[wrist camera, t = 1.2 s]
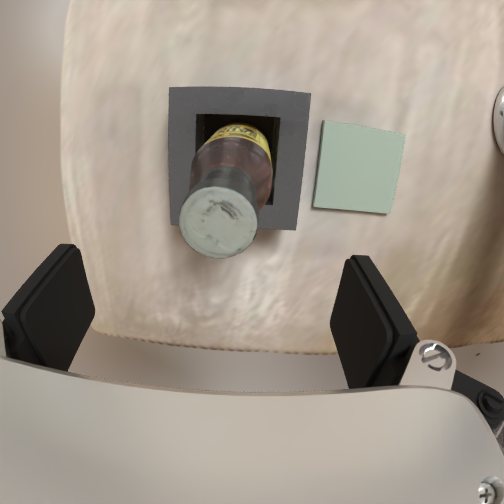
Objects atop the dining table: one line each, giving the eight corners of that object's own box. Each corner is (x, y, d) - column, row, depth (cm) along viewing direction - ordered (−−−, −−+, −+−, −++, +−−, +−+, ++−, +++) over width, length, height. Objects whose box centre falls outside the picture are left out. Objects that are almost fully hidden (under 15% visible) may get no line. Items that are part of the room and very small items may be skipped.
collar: (299, 93, 29) (311, 93, 24) (288, 208, 36) (295, 230, 31) (182, 88, 29) (169, 87, 24) (182, 203, 35) (170, 224, 30)
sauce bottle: (256, 112, 30) (270, 137, 13) (275, 165, 33) (307, 253, 16) (199, 133, 31) (140, 187, 14) (219, 183, 34) (192, 288, 17)
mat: (402, 134, 31) (405, 135, 30) (387, 211, 36) (390, 213, 35) (322, 120, 31) (324, 120, 30) (312, 204, 36) (313, 207, 35)
